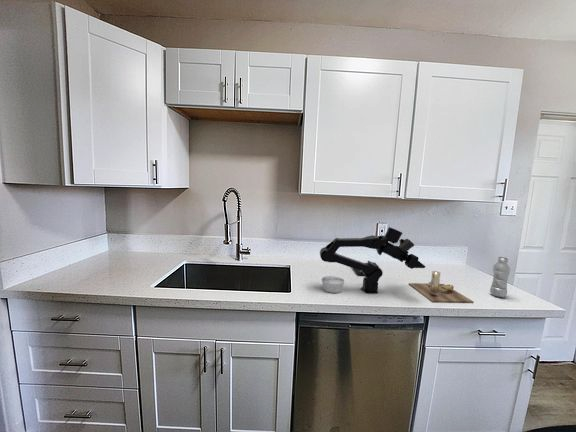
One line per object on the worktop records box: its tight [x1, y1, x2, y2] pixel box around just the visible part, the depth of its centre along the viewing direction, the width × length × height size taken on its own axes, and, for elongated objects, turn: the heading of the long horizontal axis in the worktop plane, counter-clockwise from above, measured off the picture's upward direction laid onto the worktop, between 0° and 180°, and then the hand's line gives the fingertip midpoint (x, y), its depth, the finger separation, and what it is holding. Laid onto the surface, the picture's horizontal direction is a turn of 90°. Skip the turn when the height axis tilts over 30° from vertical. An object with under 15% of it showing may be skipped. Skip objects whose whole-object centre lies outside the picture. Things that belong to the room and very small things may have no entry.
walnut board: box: [408, 282, 475, 304], centre depth 126 cm, size 20×21×1 cm
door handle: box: [351, 268, 365, 277], centre depth 156 cm, size 3×20×16 cm
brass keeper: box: [441, 284, 455, 293], centre depth 125 cm, size 7×3×3 cm, turn 117°
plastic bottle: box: [489, 256, 511, 299], centre depth 123 cm, size 6×7×20 cm
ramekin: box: [321, 275, 345, 294], centre depth 125 cm, size 11×11×5 cm
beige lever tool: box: [427, 270, 441, 295], centre depth 126 cm, size 16×4×11 cm, turn 152°
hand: (420, 264), depth 122 cm, fingers open, 9 cm apart
